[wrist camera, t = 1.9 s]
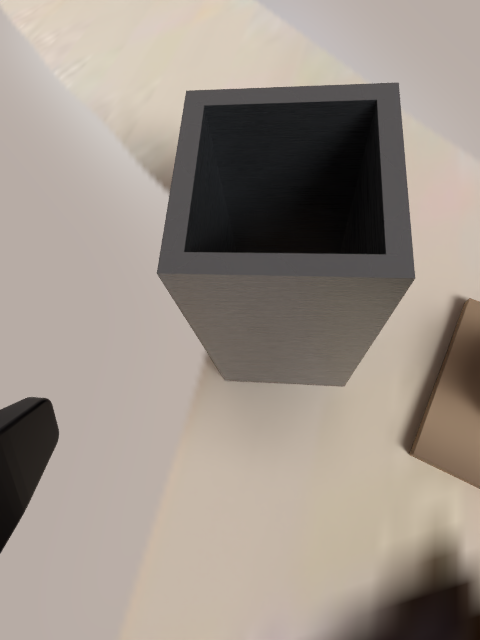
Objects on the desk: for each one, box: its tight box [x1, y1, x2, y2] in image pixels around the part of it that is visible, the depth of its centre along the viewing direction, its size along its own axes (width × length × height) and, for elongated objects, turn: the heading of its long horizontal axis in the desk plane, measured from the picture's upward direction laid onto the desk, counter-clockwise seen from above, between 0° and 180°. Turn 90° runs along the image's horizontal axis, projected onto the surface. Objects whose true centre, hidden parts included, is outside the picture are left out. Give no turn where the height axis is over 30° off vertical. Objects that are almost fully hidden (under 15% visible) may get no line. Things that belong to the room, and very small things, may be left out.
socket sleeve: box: [157, 83, 415, 386], centre depth 16 cm, size 6×6×12 cm
